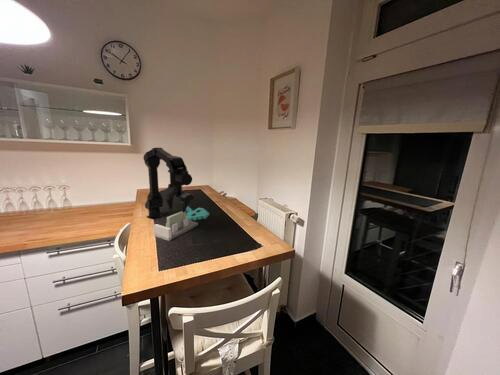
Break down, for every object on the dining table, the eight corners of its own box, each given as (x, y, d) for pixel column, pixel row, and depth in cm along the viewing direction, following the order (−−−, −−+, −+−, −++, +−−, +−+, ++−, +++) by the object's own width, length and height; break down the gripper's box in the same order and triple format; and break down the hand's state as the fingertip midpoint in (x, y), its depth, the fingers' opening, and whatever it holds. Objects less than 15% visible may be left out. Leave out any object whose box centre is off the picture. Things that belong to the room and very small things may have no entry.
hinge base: (154, 236, 106) (153, 225, 105) (184, 221, 126) (184, 212, 124) (169, 240, 102) (168, 229, 101) (198, 225, 122) (198, 215, 120)
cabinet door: (167, 231, 108) (166, 217, 106) (183, 223, 119) (183, 210, 117) (171, 232, 107) (170, 218, 105) (187, 224, 118) (186, 211, 116)
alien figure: (170, 219, 129) (200, 223, 125) (170, 216, 129) (200, 219, 125) (186, 209, 148) (213, 212, 144) (186, 206, 148) (213, 209, 144)
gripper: (150, 182, 104) (151, 211, 108) (178, 187, 97) (179, 218, 100) (167, 178, 114) (168, 205, 118) (194, 183, 107) (194, 212, 110)
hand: (177, 210), depth 111 cm, fingers open, 9 cm apart
